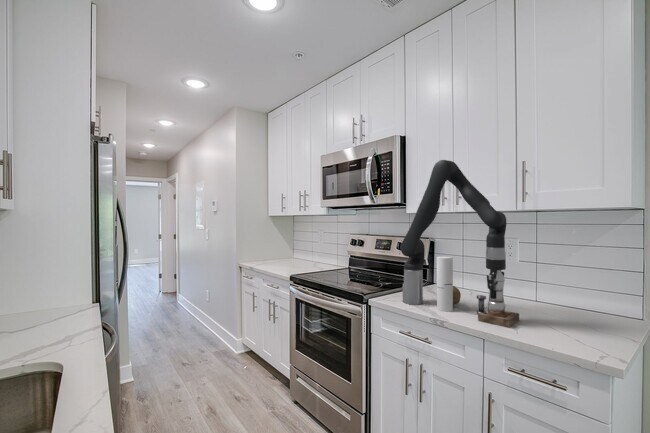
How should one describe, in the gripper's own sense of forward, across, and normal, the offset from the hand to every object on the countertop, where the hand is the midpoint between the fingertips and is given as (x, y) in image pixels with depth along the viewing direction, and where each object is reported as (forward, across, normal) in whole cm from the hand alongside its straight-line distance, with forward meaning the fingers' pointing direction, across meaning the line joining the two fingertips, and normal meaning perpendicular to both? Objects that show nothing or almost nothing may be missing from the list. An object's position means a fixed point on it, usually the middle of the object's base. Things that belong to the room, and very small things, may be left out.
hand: (495, 297), depth 139 cm
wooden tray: (+10, 0, +1) cm, 10 cm away
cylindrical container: (+10, 0, -23) cm, 25 cm away
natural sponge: (+10, -9, -24) cm, 28 cm away
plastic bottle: (+7, 0, 0) cm, 7 cm away
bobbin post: (+10, -5, -8) cm, 14 cm away
